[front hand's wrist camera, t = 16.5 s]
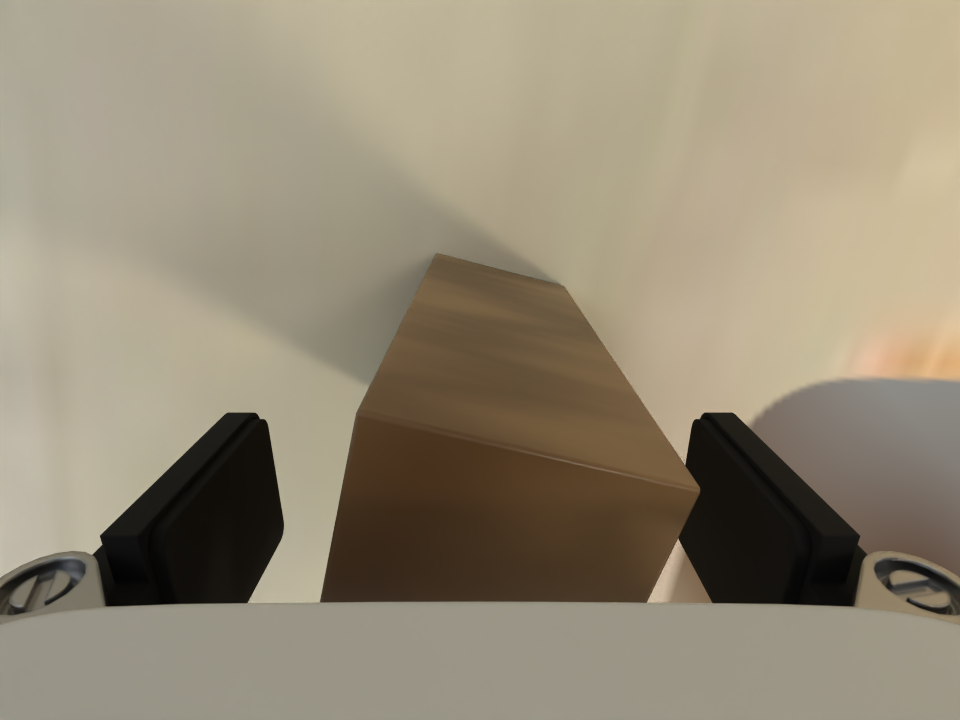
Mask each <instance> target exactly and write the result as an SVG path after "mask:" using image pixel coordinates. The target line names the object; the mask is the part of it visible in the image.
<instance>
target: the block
mask: <svg viewBox="0 0 960 720" xmlns="http://www.w3.org/2000/svg"><path fill="white" fill-rule="evenodd" d="M699 494H700V487H699V485H698V484H697V482H696V481H695V479H694V478H693V477H692V475H691V474H690V472H689V471H688V469H687V468H686V466H685V465H684V463H683V462H682V460H681V459H680V457H679V456H678V454H677V453H676V451H675V450H674V448H673V447H672V445H671V444H670V442H669V441H668V439H667V438H666V437H665V435H664V434H663V432H662V431H661V429H660V428H659V426H658V425H657V423H656V422H655V420H654V419H653V417H652V416H651V414H650V413H649V411H648V410H647V408H646V407H645V405H644V404H643V402H642V401H641V399H640V398H639V397H638V395H637V394H636V392H635V391H634V389H633V388H632V386H631V385H630V383H629V382H628V380H627V379H626V377H625V376H624V374H623V373H622V371H621V370H620V368H619V367H618V365H617V364H616V362H615V361H614V359H613V358H612V357H611V355H610V354H609V352H608V351H607V349H606V348H605V346H604V345H603V343H602V342H601V340H600V339H599V337H598V336H597V334H596V333H595V331H594V330H593V328H592V327H591V325H590V324H589V322H588V321H587V319H586V318H585V317H584V315H583V314H582V312H581V311H580V309H579V308H578V306H577V305H576V303H575V302H574V300H573V299H572V297H571V296H570V294H569V293H568V291H567V290H566V288H565V287H564V286H561V285H557V284H553V283H550V282H546V281H542V280H538V279H534V278H530V277H526V276H523V275H519V274H515V273H511V272H507V271H503V270H499V269H495V268H492V267H488V266H484V265H480V264H476V263H472V262H468V261H464V260H461V259H457V258H453V257H449V256H445V255H441V254H436V255H435V257H434V259H433V261H432V263H431V265H430V267H429V269H428V271H427V273H426V275H425V277H424V279H423V281H422V283H421V285H420V287H419V289H418V291H417V293H416V295H415V297H414V299H413V301H412V303H411V305H410V307H409V309H408V311H407V313H406V315H405V316H404V318H403V320H402V322H401V324H400V326H399V328H398V330H397V332H396V334H395V336H394V338H393V340H392V342H391V344H390V346H389V348H388V350H387V352H386V354H385V356H384V358H383V360H382V362H381V364H380V366H379V368H378V370H377V372H376V374H375V376H374V378H373V380H372V382H371V384H370V386H369V388H368V390H367V392H366V394H365V396H364V398H363V400H362V402H361V404H360V406H359V408H358V410H357V412H356V417H355V422H354V427H353V432H352V438H351V443H350V448H349V453H348V458H347V464H346V469H345V474H344V479H343V484H342V490H341V495H340V500H339V505H338V511H337V516H336V521H335V526H334V531H333V537H332V542H331V547H330V552H329V557H328V563H327V568H326V573H325V578H324V584H323V589H322V594H321V599H320V603H330V602H621V603H647V601H648V599H649V597H650V594H651V592H652V590H653V588H654V586H655V584H656V582H657V580H658V578H659V576H660V574H661V572H662V570H663V568H664V566H665V564H666V562H667V560H668V558H669V556H670V554H671V551H672V549H673V547H674V545H675V543H676V541H677V539H678V537H679V535H680V533H681V531H682V529H683V527H684V525H685V523H686V521H687V519H688V517H689V515H690V513H691V510H692V508H693V506H694V504H695V502H696V500H697V498H698V496H699Z"/></svg>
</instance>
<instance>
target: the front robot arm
mask: <svg viewBox="0 0 960 720" xmlns="http://www.w3.org/2000/svg"><path fill="white" fill-rule="evenodd" d="M685 466H686V468H687V469H688V471H689V472H690V474H691V475H692V477H693V478H694V479H695V481H696V482H697V484H698V485H699V487H700V494H699V496H698V498H697V500H696V502H695V504H694V506H693V508H692V510H691V513H690V515H689V517H688V519H687V521H686V523H685V525H684V527H683V529H682V531H681V533H680V535H679V537H678V539H679V541H680V543H681V545H682V547H683V548H684V550H685V552H686V554H687V556H688V558H689V560H690V562H691V563H692V565H693V567H694V569H695V571H696V573H697V575H698V576H699V578H700V580H701V582H702V584H703V586H704V588H705V590H706V592H707V593H708V595H709V597H710V599H711V601H712V603H621V602H330V603H248V601H249V599H250V597H251V595H252V593H253V592H254V590H255V588H256V586H257V584H258V582H259V580H260V578H261V577H262V575H263V573H264V571H265V569H266V567H267V565H268V563H269V562H270V560H271V558H272V556H273V554H274V552H275V550H276V548H277V547H278V545H279V543H280V541H281V539H282V535H283V530H284V520H283V514H282V508H281V502H280V496H279V490H278V483H277V477H276V471H275V465H274V459H273V453H272V446H271V440H270V434H269V428H268V424H267V422H266V420H265V419H260V418H259V416H258V414H256V413H226V414H225V415H224V416H223V417H222V418H221V419H220V420H219V421H218V422H217V423H216V424H215V425H214V426H212V427H211V428H210V429H209V430H208V431H207V432H206V433H205V434H204V435H203V436H202V437H201V438H200V439H199V440H198V441H197V442H196V443H195V444H194V445H193V446H192V447H191V448H190V449H189V450H188V451H187V452H186V453H185V454H184V455H183V456H182V457H181V458H180V459H179V460H177V461H176V462H175V463H174V464H173V465H172V466H171V467H170V468H169V469H168V470H167V471H166V472H165V473H164V474H163V475H162V476H161V477H160V478H159V479H158V480H157V481H156V482H155V483H154V484H153V485H152V486H151V487H150V488H149V489H148V490H147V491H146V492H145V493H143V494H142V495H141V496H140V497H139V498H138V499H137V500H136V501H135V502H134V503H133V504H132V505H131V506H130V507H129V508H128V509H127V510H126V511H125V512H124V513H123V514H122V515H121V516H120V517H119V518H118V519H117V520H116V521H115V522H114V523H113V524H112V525H111V526H109V527H108V528H107V529H106V530H105V531H104V532H103V533H102V534H101V535H100V538H101V541H102V544H103V545H102V546H101V547H100V548H99V549H98V550H97V551H96V552H95V553H94V554H93V555H91V554H89V553H86V552H79V551H69V552H61V553H55V554H52V555H48V556H45V557H41V558H38V559H36V560H33V561H31V562H28V563H26V564H24V565H21V566H19V567H18V568H16V569H14V570H12V571H11V572H9V573H7V574H5V575H4V576H2V577H1V578H0V720H960V578H959V577H958V576H956V575H955V574H953V573H951V572H949V571H948V570H946V569H944V568H942V567H941V566H939V565H936V564H934V563H932V562H929V561H927V560H924V559H922V558H919V557H915V556H912V555H908V554H905V553H899V552H891V551H881V552H874V553H871V554H869V555H867V554H866V553H865V552H864V551H863V550H862V549H861V548H860V547H859V546H858V545H857V544H858V541H859V538H860V535H859V534H858V533H857V532H856V531H855V530H854V529H853V528H852V527H851V526H849V525H848V524H847V523H846V522H845V521H844V520H843V519H842V518H841V517H840V516H839V515H838V514H837V513H836V512H835V511H834V510H833V509H832V508H831V507H830V506H829V505H828V504H827V503H826V502H825V501H824V500H823V499H822V498H821V497H820V496H819V495H818V494H816V492H814V491H813V490H812V489H811V488H810V487H809V486H808V485H807V484H806V483H805V482H804V481H803V480H802V479H801V478H800V477H799V476H798V475H797V474H796V473H795V472H794V471H793V470H792V469H791V468H790V467H789V466H788V465H787V464H786V463H785V462H784V461H783V460H782V459H780V458H779V457H778V456H777V455H776V454H775V453H774V452H773V451H772V450H771V449H770V448H769V447H768V446H767V445H766V444H765V443H764V442H763V441H762V440H761V439H760V438H759V437H758V436H757V435H756V434H755V433H754V432H753V431H752V430H751V429H750V428H749V427H748V426H746V425H745V424H744V423H743V422H742V421H741V420H740V419H739V418H738V417H737V416H736V415H735V414H734V413H704V414H702V416H701V418H700V419H695V420H694V422H693V424H692V428H691V434H690V440H689V447H688V453H687V459H686V465H685Z"/></svg>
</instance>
